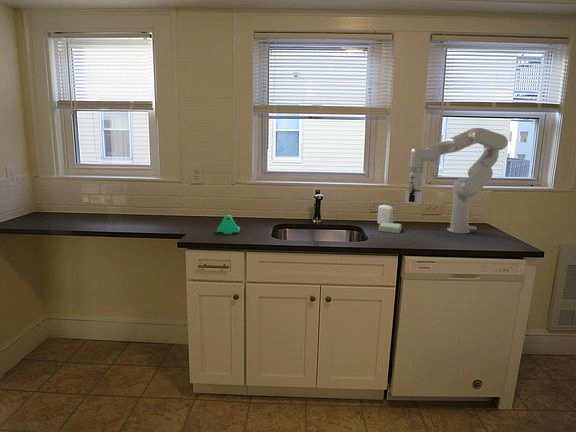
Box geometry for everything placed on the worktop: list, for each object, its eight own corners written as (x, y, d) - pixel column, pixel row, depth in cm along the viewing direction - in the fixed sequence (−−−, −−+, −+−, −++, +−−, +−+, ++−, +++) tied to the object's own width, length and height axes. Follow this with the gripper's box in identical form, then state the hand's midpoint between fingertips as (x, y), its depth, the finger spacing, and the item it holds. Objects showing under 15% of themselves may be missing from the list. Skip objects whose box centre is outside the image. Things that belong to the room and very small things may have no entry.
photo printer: (376, 223, 259) (377, 204, 256) (380, 222, 261) (381, 203, 259) (389, 226, 251) (390, 206, 248) (393, 225, 254) (395, 206, 251)
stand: (401, 228, 245) (401, 223, 244) (399, 233, 234) (399, 228, 233) (381, 226, 249) (381, 222, 249) (378, 231, 238) (378, 226, 238)
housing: (421, 203, 238) (422, 190, 236) (418, 204, 234) (419, 191, 232) (407, 202, 242) (408, 188, 241) (404, 203, 238) (406, 189, 237)
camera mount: (240, 231, 233) (240, 213, 231) (238, 234, 226) (238, 216, 224) (219, 230, 233) (218, 213, 231) (216, 233, 225) (216, 215, 223)
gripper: (418, 171, 225) (414, 203, 229) (427, 169, 239) (423, 200, 243) (404, 170, 229) (401, 202, 233) (414, 168, 243) (411, 198, 247)
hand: (413, 200), depth 238 cm, fingers closed on housing, 5 cm apart
